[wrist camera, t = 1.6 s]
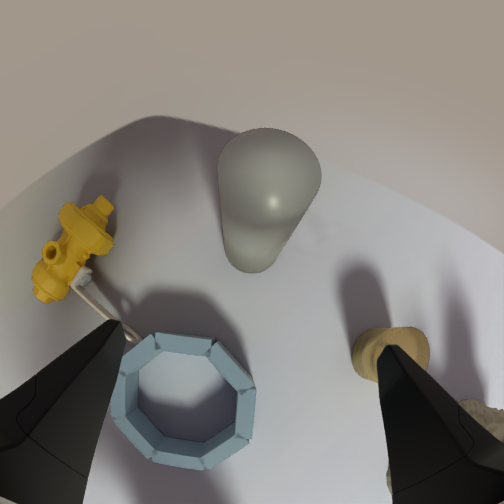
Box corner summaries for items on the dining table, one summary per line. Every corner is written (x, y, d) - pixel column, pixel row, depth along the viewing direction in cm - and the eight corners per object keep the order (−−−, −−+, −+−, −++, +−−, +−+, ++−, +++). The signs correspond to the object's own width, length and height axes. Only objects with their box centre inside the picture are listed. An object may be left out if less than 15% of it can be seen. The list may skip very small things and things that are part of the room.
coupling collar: (278, 404, 20) (285, 416, 17) (183, 470, 17) (177, 487, 14) (192, 307, 21) (185, 305, 18) (102, 380, 19) (86, 385, 16)
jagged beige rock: (385, 443, 19) (497, 509, 4) (486, 377, 21) (581, 384, 6) (381, 530, 16) (444, 590, 1) (474, 467, 18) (544, 493, 4)
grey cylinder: (289, 250, 23) (341, 177, 11) (248, 284, 22) (266, 238, 10) (254, 211, 24) (273, 114, 12) (213, 243, 23) (196, 161, 11)
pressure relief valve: (38, 280, 20) (98, 196, 23) (131, 364, 21) (195, 274, 24) (7, 274, 15) (78, 171, 17) (115, 382, 16) (196, 267, 18)
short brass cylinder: (404, 352, 21) (438, 354, 16) (371, 389, 20) (401, 401, 15) (377, 317, 22) (409, 313, 17) (341, 355, 21) (368, 361, 16)
